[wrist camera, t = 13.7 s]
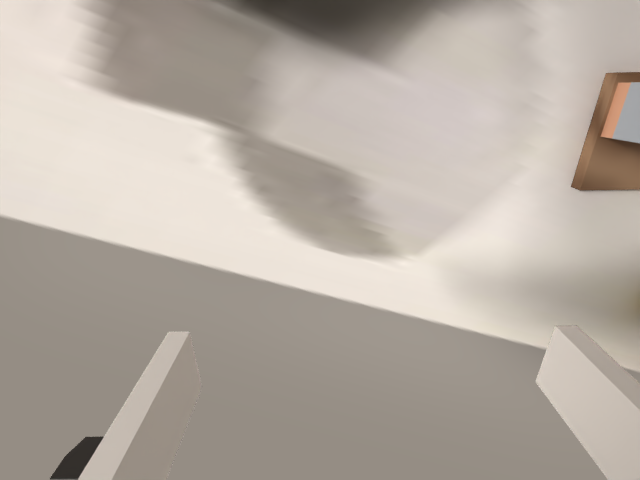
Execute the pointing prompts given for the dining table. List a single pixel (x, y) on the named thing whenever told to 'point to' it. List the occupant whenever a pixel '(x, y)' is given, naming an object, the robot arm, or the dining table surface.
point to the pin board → (608, 147)
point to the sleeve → (624, 114)
